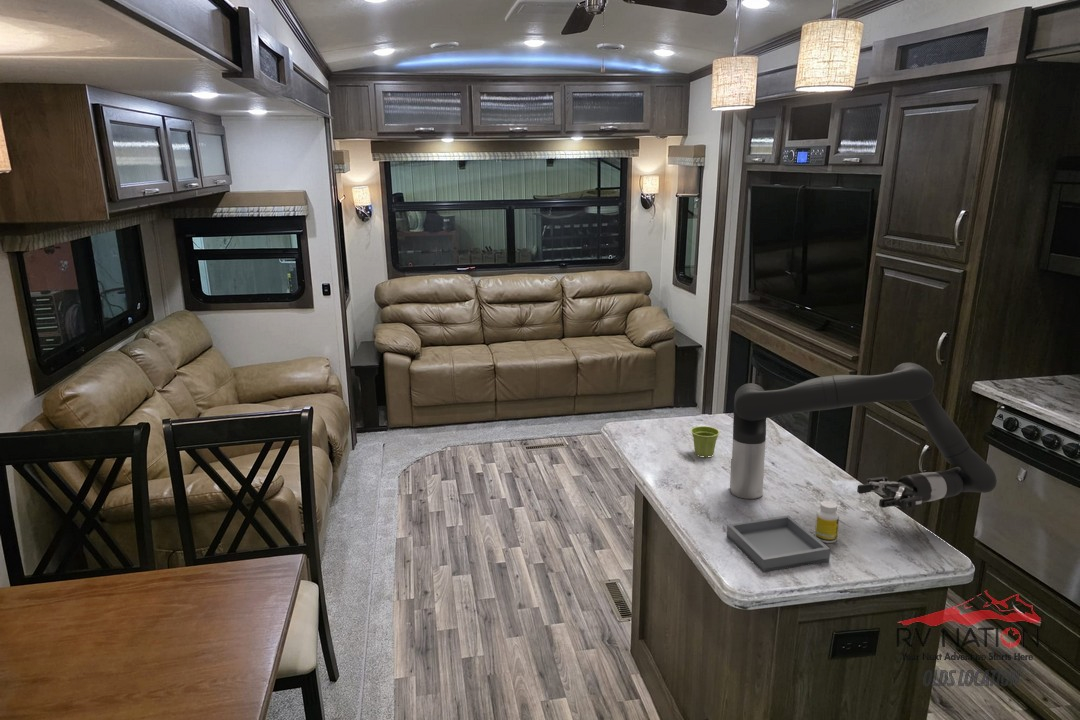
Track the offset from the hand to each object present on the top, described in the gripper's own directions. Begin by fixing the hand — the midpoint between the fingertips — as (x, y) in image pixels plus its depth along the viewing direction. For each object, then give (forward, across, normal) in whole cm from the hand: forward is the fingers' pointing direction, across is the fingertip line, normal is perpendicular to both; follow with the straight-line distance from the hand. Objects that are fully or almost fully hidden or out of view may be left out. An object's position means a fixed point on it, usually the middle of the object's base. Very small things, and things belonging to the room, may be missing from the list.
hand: (869, 496), depth 181 cm
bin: (+27, +1, +10) cm, 29 cm away
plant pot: (+17, -60, +10) cm, 63 cm away
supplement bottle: (+12, 0, +10) cm, 16 cm away
